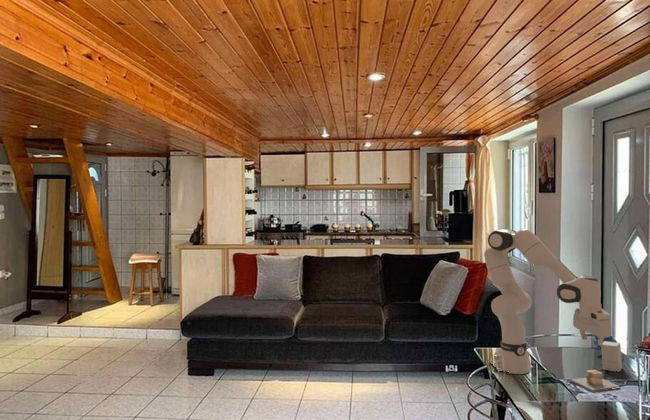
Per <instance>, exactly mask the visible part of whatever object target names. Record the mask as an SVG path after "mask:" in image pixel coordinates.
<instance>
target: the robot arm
mask: <svg viewBox="0 0 650 420" xmlns="http://www.w3.org/2000/svg"><path fill="white" fill-rule="evenodd" d="M487 243H488V245H489V247H488V248H487V249H485V250H484V255H483V256H484V261H485V265H486V269H487V272H488V274H489V277H490V280H491V283H492V285H493V286H494V287H495V288H497V289H498V290H499V291H500V293H501V294H500V295H498V296H497V297H495V298H493V299H492V301H491V304H490V307H491V310H492V313H493V314H494V315H495V316H496V317H497V319H498V321H499V323H500V327H501V338H502V339H501V340H499V343H500V348H499V349H498V350H496V351H495V352H494V355H493V360H494V361H495V362H496V363H497V364H498V368H501V369H498V370H502V371H506V372H509V373H508V374H513V375H515V374H516V375H517V374H518V375H522V374H528V373H530V372H532V369H533V365H532V364H531V359H530V353H529V351H527V350H528V345H527V342H526V329H525V325H524V324H523V323H521V321H520V318H519V314H521V313H522V314H523V313H525V312H527V311H528V310H529V309H530V308H531V307H532V303H533V302H532V301H533V300H532V297H531V295H529V294H528V293H527V292H526V291H524V290H523V289H522V287H521V286H520V284H519V283H518V282H517V280H516V278H515V276H514V273H513V270H512V268H511V266H510V264H509V261H508V257H507V254H511V252H512V251H514V250H515V249H517V250H518V251H519V252H520V253H521V255H522V256H523V257H524V258H525V259H526V261H528V262H529V263H530V264H531V265H532V266H535V267H538V268H539V267H540V268H542V269H543V268H544V269H546V270H549V271H551V272H552V273H553V274H554V275H555V276H556V277H557V278H558V280H560V281H561V282H562V283H561V284H559V285H558V286H557V288H556V296H557V298H558V299H559V300H560V301H561V302H562V303H565V304H574V303H575V304H576V303H578V306H579V308H576V309H575V310H574V314H573V320H572V322H573V323H572V324H573V325H572V326H573V327H574V328H575V329H577V330H579V333H580V335H581V340H583V341H587V340H588V335H586V333H589V334H593V335H594V336H595V335H598V338H599V339H598V341H597V345H602V341H603V340H604V337H610V336H612V323H611V318H612V317H611V316H612V315H611V314H610V313H609V312H608V311H606V310H604V309H603V308H602V303H601V297H602V291H601V286H600V281H599V279H598V278H596V277H594V276H590V275H581V276H579V277H578V276H576V275H575V274H574V273H573V272H572V271H571V270H570V269H569V268H568V267H567V266H566V265H565V264H564V263H563V262H562V261H561V260H560V259H559V258H558V257H557V256H556V255H554V253H552V251H551V250H550V249H549V248H548V247H547V246H546V245H545V244H544V242H542V240H541V239H540V238H539V237H538V236H537V235H536V234H534V232H532V231H531V230H529V229H528V228H523V229H520V230H517V231H515V230H513V229H508V228H502V229H496V230H493V231H491V232H490V234H488V237H487ZM597 345H596V346H597ZM506 372H505V373H506Z"/></svg>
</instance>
